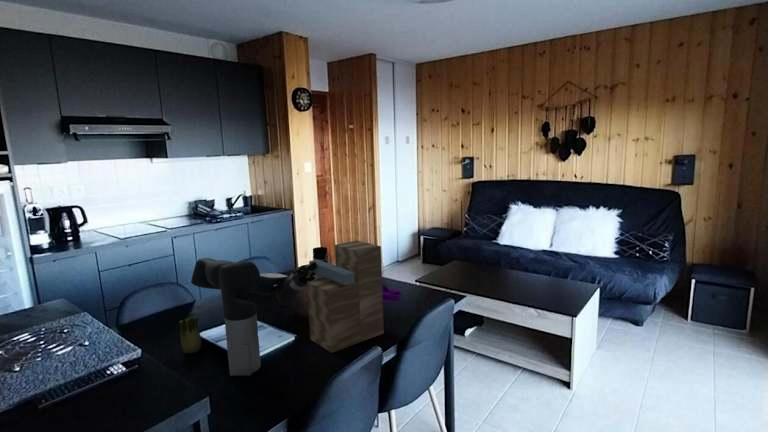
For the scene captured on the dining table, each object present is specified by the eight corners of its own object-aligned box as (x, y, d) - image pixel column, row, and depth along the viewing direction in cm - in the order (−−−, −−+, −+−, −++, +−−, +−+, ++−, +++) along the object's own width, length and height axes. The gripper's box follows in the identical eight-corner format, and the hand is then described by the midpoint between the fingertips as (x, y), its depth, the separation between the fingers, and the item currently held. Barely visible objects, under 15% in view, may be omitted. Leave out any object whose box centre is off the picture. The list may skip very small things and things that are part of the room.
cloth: (356, 304, 183) (355, 291, 183) (363, 290, 202) (363, 278, 201) (407, 305, 181) (407, 291, 180) (410, 291, 199) (410, 278, 198)
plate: (237, 280, 224) (237, 276, 224) (286, 274, 232) (286, 271, 231) (236, 294, 201) (236, 290, 200) (290, 288, 208) (290, 284, 208)
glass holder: (324, 272, 232) (322, 245, 229) (338, 278, 221) (337, 250, 219) (310, 276, 226) (308, 248, 224) (324, 281, 215) (322, 253, 213)
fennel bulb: (181, 356, 140) (177, 321, 138) (184, 349, 145) (180, 316, 143) (200, 353, 142) (197, 319, 140) (202, 347, 146) (199, 314, 144)
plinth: (383, 333, 153) (380, 246, 148) (331, 352, 139) (326, 257, 134) (360, 321, 163) (357, 240, 158) (310, 339, 150) (304, 250, 145)
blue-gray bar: (354, 282, 138) (354, 272, 137) (345, 285, 135) (345, 274, 135) (318, 268, 155) (317, 259, 155) (309, 270, 153) (309, 261, 152)
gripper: (320, 283, 166) (340, 269, 153) (287, 291, 157) (305, 277, 144) (314, 265, 168) (334, 250, 155) (281, 272, 159) (299, 257, 146)
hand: (320, 263), depth 150 cm, fingers closed on blue-gray bar, 3 cm apart
